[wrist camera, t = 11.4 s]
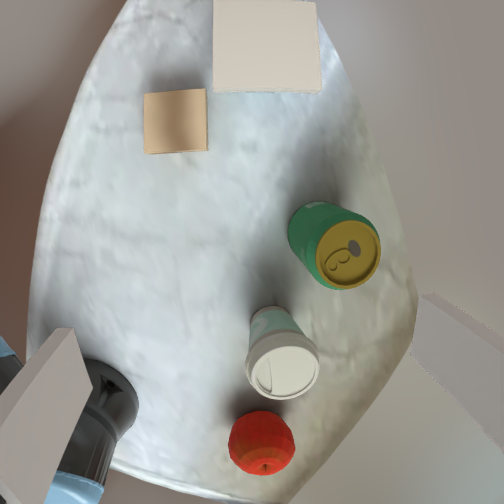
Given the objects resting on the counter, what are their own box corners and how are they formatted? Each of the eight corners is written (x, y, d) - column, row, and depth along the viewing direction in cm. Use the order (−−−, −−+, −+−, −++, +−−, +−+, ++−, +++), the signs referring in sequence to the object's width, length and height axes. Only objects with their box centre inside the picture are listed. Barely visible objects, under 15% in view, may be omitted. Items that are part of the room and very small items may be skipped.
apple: (218, 430, 49) (218, 481, 38) (245, 392, 47) (251, 445, 36) (269, 445, 51) (277, 493, 40) (298, 409, 49) (314, 459, 38)
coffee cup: (256, 287, 43) (268, 330, 31) (311, 309, 45) (338, 355, 33) (230, 338, 45) (233, 391, 33) (283, 357, 46) (299, 410, 35)
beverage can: (354, 238, 42) (397, 264, 31) (306, 272, 43) (335, 309, 31) (325, 188, 40) (363, 197, 29) (274, 223, 41) (293, 246, 29)
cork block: (152, 154, 37) (144, 153, 34) (151, 100, 36) (143, 93, 32) (208, 150, 38) (206, 148, 34) (207, 95, 36) (205, 88, 32)
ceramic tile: (213, 92, 31) (212, 88, 29) (213, 6, 28) (213, -2, 26) (316, 93, 32) (321, 90, 30) (310, 9, 29) (315, 2, 27)
